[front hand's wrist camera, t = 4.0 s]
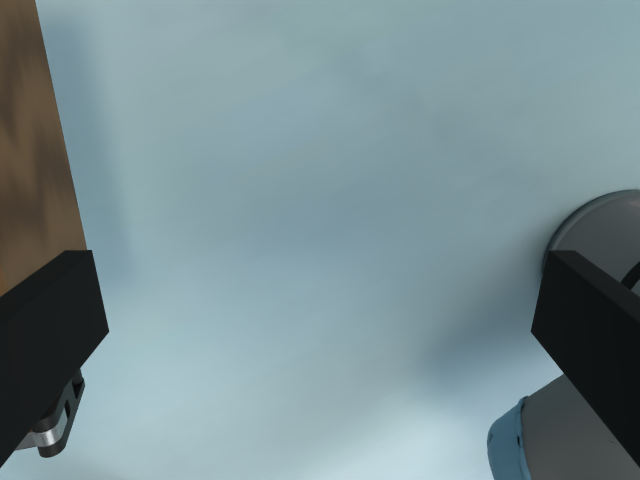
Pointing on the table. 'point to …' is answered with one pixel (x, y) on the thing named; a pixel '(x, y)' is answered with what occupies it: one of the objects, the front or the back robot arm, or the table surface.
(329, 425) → the table surface
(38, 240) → the bar
